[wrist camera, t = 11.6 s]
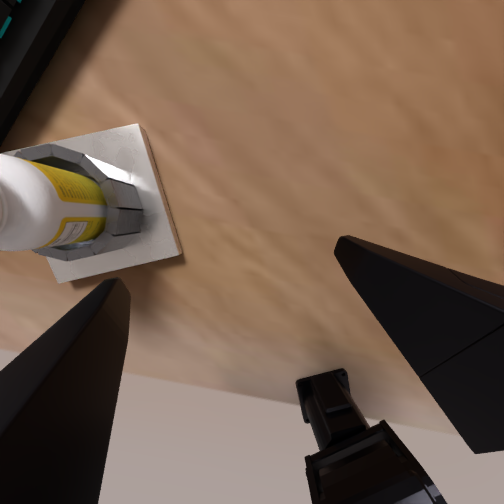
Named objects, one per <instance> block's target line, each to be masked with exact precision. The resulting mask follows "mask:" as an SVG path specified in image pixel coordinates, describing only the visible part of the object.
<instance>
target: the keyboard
mask: <svg viewBox="0 0 504 504" xmlns="http://www.w3.org/2000/svg"><path fill="white" fill-rule="evenodd" d="M84 2H85V0H0V146H1V144H2V142H3V140H4V139H5V137H6V135H7V134H8V132H9V130H10V128H11V127H12V125H13V123H14V122H15V120H16V118H17V117H18V115H19V113H20V111H21V110H22V108H23V106H24V105H25V103H26V101H27V99H28V98H29V96H30V94H31V93H32V91H33V89H34V87H35V86H36V84H37V82H38V81H39V79H40V77H41V75H42V74H43V72H44V70H45V69H46V67H47V65H48V64H49V62H50V60H51V58H52V57H53V55H54V53H55V52H56V50H57V48H58V46H59V45H60V43H61V41H62V40H63V38H64V36H65V34H66V33H67V31H68V29H69V28H70V26H71V24H72V23H73V21H74V19H75V17H76V16H77V14H78V12H79V11H80V9H81V7H82V5H83V4H84Z"/></svg>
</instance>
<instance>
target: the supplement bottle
mask: <svg viewBox="0 0 504 504" xmlns="http://www.w3.org/2000/svg"><path fill="white" fill-rule="evenodd" d="M107 212H108V205H107V203H106V200H105V197H104V195H103V192H102V189H101V187H100V184H99V183H98V182H97V181H96V180H95V179H94V178H93V177H89V176H85V175H81V174H77V173H73V172H70V171H66V170H62V169H59V168H55V167H51V166H47V165H43V164H40V163H36V162H32V161H28V160H24V159H21V158H17V157H13V156H8V155H4V154H0V250H2V251H24V250H32V249H39V248H45V247H52V246H58V245H65V244H71V243H78V242H84V241H91V240H95V239H96V238H97V237H98V236H99V235H100V234H101V233H102V232H103V231H104V229H105V224H106V218H107Z"/></svg>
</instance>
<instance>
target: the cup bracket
mask: <svg viewBox="0 0 504 504" xmlns="http://www.w3.org/2000/svg"><path fill="white" fill-rule="evenodd" d="M0 154H4V155H8V156H13V157H17V158H21V159H24V160H28V161H32V162H36V163H40V164H43V165H47V166H51V167H55V168H59V169H62V170H66V171H70V172H73V173H77V174H81V175H85V176H89V177H93V178H94V179H95V180H96V181H97V182H98V183H99V184H100V187H101V189H102V192H103V195H104V197H105V200H106V203H107V205H108V212H107V218H106V224H105V229H104V231H103V232H102V233H101V234H100V235H99V236H98V237H97V238H96V239H95V240H91V241H84V242H78V243H71V244H65V245H58V246H52V247H45V248H39V249H32V251H34V252H35V253H38V254H39V255H43V256H46V258H47V260H48V262H49V264H50V266H51V268H52V271H53V273H54V275H55V277H56V279H57V282H58V284H59V283H63V282H67V281H71V280H76V279H80V278H84V277H88V276H93V275H97V274H101V273H105V272H110V271H114V270H118V269H122V268H127V267H131V266H135V265H139V264H144V263H148V262H152V261H156V260H161V259H165V258H169V257H173V256H178V255H180V254H182V253H183V252H182V249H181V246H180V243H179V239H178V236H177V233H176V230H175V226H174V223H173V220H172V217H171V213H170V210H169V207H168V204H167V200H166V197H165V194H164V191H163V187H162V184H161V181H160V178H159V174H158V171H157V168H156V165H155V161H154V158H153V155H152V152H151V148H150V145H149V142H148V139H147V135H146V132H145V130H144V129H143V128H142V127H141V126H140V125H139V124H138V123H137V124H132V125H128V126H123V127H119V128H114V129H109V130H105V131H100V132H96V133H91V134H86V135H82V136H77V137H73V138H68V139H63V140H59V141H54V142H50V143H45V144H40V145H36V146H31V147H27V148H22V149H17V150H13V151H8V152H4V153H0Z"/></svg>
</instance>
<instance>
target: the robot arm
mask: <svg viewBox="0 0 504 504" xmlns="http://www.w3.org/2000/svg"><path fill="white" fill-rule="evenodd" d="M334 255H335V257H336V259H337V260H338V262H339V264H340V266H341V267H342V269H343V271H344V272H345V274H346V276H347V278H348V279H349V281H350V282H351V284H352V285H353V287H354V288H355V289H356V291H357V292H358V294H359V295H360V296H361V298H362V299H363V301H364V302H365V303H366V305H367V306H368V308H369V309H370V310H371V312H372V313H373V314H374V316H375V317H376V319H377V320H378V321H379V323H380V324H381V326H382V327H383V328H384V330H385V331H386V332H387V334H388V335H389V337H390V338H391V339H392V341H393V342H394V344H395V345H396V346H397V348H398V349H399V350H400V352H401V353H402V355H403V356H404V357H405V359H406V360H407V362H408V363H409V364H410V366H411V367H412V368H413V370H414V371H415V373H416V374H417V375H418V377H419V378H420V380H421V381H422V383H423V384H424V385H425V387H426V388H427V390H428V391H429V392H430V394H431V395H432V396H433V398H434V399H435V401H436V402H437V403H438V405H439V406H440V408H441V409H442V410H443V412H444V413H445V415H446V416H447V417H448V419H449V420H450V421H451V423H452V424H453V426H454V427H455V428H456V430H457V431H458V433H459V434H460V435H461V437H462V438H463V439H464V441H465V442H466V444H467V445H468V446H469V448H470V449H471V450H472V451H473V452H474V453H475V454H480V453H488V452H495V451H503V450H504V286H503V285H500V284H496V283H493V282H490V281H486V280H483V279H480V278H477V277H474V276H471V275H467V274H464V273H461V272H458V271H455V270H452V269H449V268H446V267H443V266H440V265H437V264H434V263H431V262H428V261H425V260H422V259H419V258H416V257H413V256H410V255H407V254H404V253H401V252H398V251H395V250H392V249H389V248H386V247H383V246H380V245H377V244H374V243H371V242H368V241H365V240H362V239H359V238H356V237H353V236H350V235H346V236H341V237H340V238H339V239H338V241H337V244H336V247H335V249H334ZM130 302H131V296H130V292H129V291H128V289H127V287H126V286H125V284H124V283H123V281H122V280H121V279H120V278H118V277H116V278H111V279H106V280H104V281H103V282H102V283H100V284H99V285H98V286H97V287H96V288H95V289H94V290H92V291H91V292H90V293H89V294H88V295H87V296H86V297H84V298H83V299H82V300H81V301H80V302H79V303H78V304H76V305H75V306H74V307H73V308H72V309H71V310H70V311H68V312H67V313H66V314H65V315H64V316H63V317H62V318H60V319H59V320H58V321H57V322H56V323H55V324H54V325H53V326H51V327H50V328H49V329H48V330H47V331H46V332H45V333H43V334H42V335H41V336H40V337H39V338H38V339H37V340H35V341H34V342H33V343H32V344H31V345H30V346H29V347H27V348H26V349H25V350H24V351H23V352H22V353H21V354H19V356H17V357H16V358H15V359H14V360H13V361H11V363H9V364H8V365H7V366H6V367H5V368H3V369H2V370H1V371H0V504H98V500H99V495H100V490H101V484H102V478H103V474H104V468H105V463H106V457H107V452H108V446H109V441H110V436H111V430H112V425H113V419H114V414H115V408H116V403H117V398H118V392H119V387H120V381H121V376H122V371H123V365H124V360H125V354H126V349H127V343H128V335H129V320H130ZM296 387H297V392H298V396H299V401H300V406H301V410H302V415H303V419H304V422H305V423H310V424H311V426H312V429H313V432H314V435H315V438H316V441H317V444H318V447H319V450H320V451H319V452H317V453H315V454H313V455H311V456H310V455H308V456H306V457H305V462H306V467H307V468H306V476H307V480H308V484H309V489H310V495H311V500H312V504H447V503H446V501H445V499H444V498H443V496H442V495H441V493H440V492H439V490H438V489H437V487H436V486H435V484H434V483H433V481H432V480H431V478H430V477H429V476H428V474H427V473H426V471H425V470H424V469H423V467H422V466H421V465H420V463H419V462H418V461H417V460H416V458H415V457H414V456H413V455H412V453H411V452H410V451H409V450H408V448H407V447H406V446H405V445H404V444H403V442H402V441H401V440H400V439H399V438H398V436H397V435H396V434H395V432H394V431H393V430H392V429H391V427H390V426H389V425H388V424H387V422H386V421H385V420H382V421H380V422H379V424H377V425H375V426H372V427H370V426H369V425H368V423H367V421H366V420H365V418H364V416H363V415H362V413H361V412H360V410H359V408H358V407H357V405H356V404H355V402H354V400H353V399H352V397H351V395H350V388H349V381H348V375H347V372H346V370H345V369H343V368H342V369H338V370H334V371H330V372H326V373H322V374H318V375H314V376H310V377H306V378H302V379H299V380H297V381H296Z"/></svg>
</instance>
